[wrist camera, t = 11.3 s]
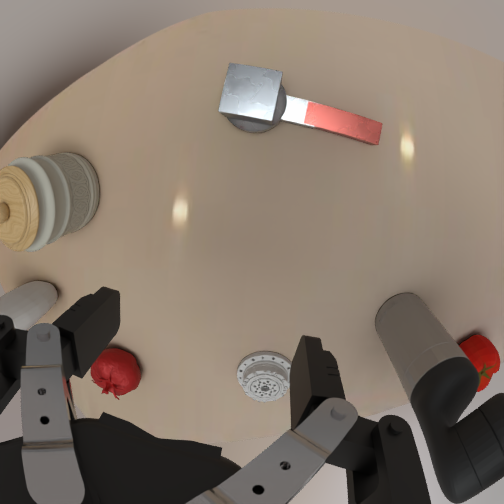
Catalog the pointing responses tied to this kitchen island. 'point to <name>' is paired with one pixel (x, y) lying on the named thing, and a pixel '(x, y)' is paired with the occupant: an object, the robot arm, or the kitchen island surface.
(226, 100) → the brushed metal cube
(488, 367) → the tomato
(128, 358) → the pomegranate
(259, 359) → the mechanical component
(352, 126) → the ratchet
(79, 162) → the jar
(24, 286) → the soap bottle
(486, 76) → the kitchen island surface
